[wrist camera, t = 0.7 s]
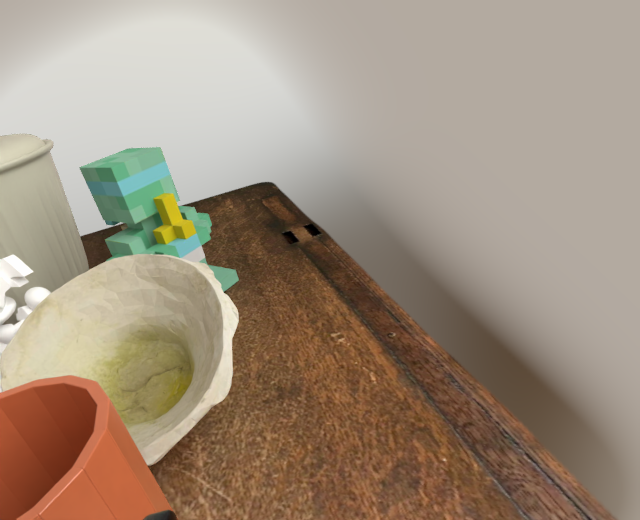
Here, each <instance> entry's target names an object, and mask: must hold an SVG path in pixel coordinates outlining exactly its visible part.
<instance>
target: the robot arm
mask: <svg viewBox="0 0 640 520" xmlns="http://www.w3.org/2000/svg"><path fill="white" fill-rule="evenodd" d="M143 520H177V517H176V515H175V513H174V512H173V511H171V510H164V511H161V512H157V513H153V514H149V515H147V516H146V517H145V518H144V519H143Z"/></svg>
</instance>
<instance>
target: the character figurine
mask: <svg viewBox="0 0 640 520" xmlns="http://www.w3.org/2000/svg"><path fill="white" fill-rule="evenodd" d="M32 272H34V271H32V270H31V269H30V268H29V267H28V266H27V265H26V264H25V263H23V262H22V261H21V260H20V259H19V258H18V257H16V256H15V255H11V256H8V257H5V258H3V259H0V359H1V354H2V352H3V351H4V349H5V348H6V346H7V345H8V344H9V342H10V341H11V339H12V338H13V337H14V335H15V334H16V332H17V331H18V329H19V328H20V326H21V325H22V323H23V321H24V320H25V319H26V318H27V316H28V315H29V314H30V313H32V312H33V310H34V309H35V308H36V306H37V305H38V304H39V303H40V302H41V301H43V300H44V299H45V298H46V297H47V296H48V295H49V294H51V292H50V291H49V290H47V289H45V288H43V287H33V288H30V289H29V290H28V291H27V292H26V293H25V296H24V299H25V302H26V304H27V305H26V306H23V307H20V308H18V313H17V314H16V317H17V321H20V322H18V323H17V324H15V325H13V324H6V325H2V324H3V323H4V322H5V321H6V320H8V319H9V318H10V317H11V315H12V314H13V313H14V311H15V309H16V302H15V300H14V299H13V298H10V297H6V296H5V292H6V291H7V290H8V289H10V287H21V286H22V285H24V284H26V283H28V282H29V281H28V280H27V279H26V278H25V276H27V275H29V274H30V273H32ZM0 381H1V372H0ZM1 392H2V389H1V383H0V393H1Z"/></svg>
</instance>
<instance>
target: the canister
mask: <svg viewBox="0 0 640 520" xmlns="http://www.w3.org/2000/svg"><path fill="white" fill-rule="evenodd" d="M52 148H53V142H52V141H51V140H48V139H45V140H41V139H40V138H38V137H37V136H34V135H31V134H12V135H5V136H0V259H3V258H5V257H8V256H11V255H15V256H16V257H18V258H19V259H20V260H21V261H22V262H23V263H25V264H26V265H27V266H28V267H29V268H30V269H31V270H32V271H34V272H32V273H30V274H29V275H27V276H25V278H26V279H27V280H28V281H29V282H28V283H26V284H24V285H22V286H21V287H10V289H8V290H7V291H6V292H5V296H6V297H10V298H13V299H14V300H15V302H16V309H15V311H14V313H13V314H12V315H11V317H10V318H9V319H8V320H6V321H5V322H4V323H3V324H2V325H6V324H13V325H15V324H17V323H18V322H20V321H17V317H16V314H17V313H18V308H20V307H23V306H26V305H27V304H26V302H25V299H24V296H25V293H26V292H27V291H28V290H29V289H30V288H33V287H43V288H45V289H47V290H49V291H50V292H51V293H52V292H54V291H55V290H57V289H58V288H60V287H62V286H63V285H64V284H66V283H67V282H69V281H70V280H72V279H73V278H75V277H77V276H79V275H81V274H83V273H85V272H87V271H89V267H88V261H87V257H86V254H85V251H84V247H83V244H82V241H81V238H80V235H79V232H78V229H77V226H76V223H75V220H74V217H73V214H72V211H71V209H70V206H69V203H68V200H67V197H66V195H65V192H64V189H63V186H62V183H61V180H60V177H59V175H58V172H57V169H56V167H55V164H54V162H53V159H52V156H51V153H50V150H51V149H52Z"/></svg>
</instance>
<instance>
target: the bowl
mask: <svg viewBox="0 0 640 520" xmlns="http://www.w3.org/2000/svg"><path fill="white" fill-rule="evenodd" d="M221 286H222V285H221V283H220V282H219V281H218V280H217V279H216V278H215V276H214V272H213V271H212V270H211V269H210V268H209V266H208V265H206V264H205V263H200V262H190V261H188V260H185V259H182V258H178V257H175V256H171V255H152V254H136V255H129V256H123V257H119V258H114V259H111V260H109V261H107V262H104V263H102V264H100V265H98V266H96V267H94V268H92V269H90V270H89V271H87V272H85V273H83V274H81V275H79V276H77V277H75V278H73V279H72V280H70V281H69V282H67V283H66V284H64V285H63V286H62V287H60V288H58V289H57V290H55V291H54V292H52V293H51V294H49V295H48V296H47V297H46V298H45V299H44V300H43V301H41V302H40V303H39V304H38V305H37V306H36V308H35V309H34V310H33V312H32V313H30V314H29V315H28V316H27V318H26V319H25V320H24V321H23V323H22V325H21V326H20V328H19V329H18V331H17V332H16V334H15V335H14V337H13V338H12V339H11V341H10V342H9V344H8V345H7V346H6V348H5V349H4V351H3V352H2V354H1V359H0V372H1V381H0V383H1V389H2V392H4V391H6V390H9V389H12V388H15V387H17V386H20V385H23V384H26V383H28V382H31V381H34V380H38V379H44V378H52V377H59V376H67V375H73V376H77V377H82V378H86V379H90V380H94V381H96V382H98V383H99V385H100V386H101V387H102V389H103V390H104V391H105V393H106V394H107V395H108V397H109V398H110V400H111V402H112V403H113V405H114V407H115V409H116V410H117V412H118V414H119V416H120V418H121V419H122V421H123V423H124V425H125V426H126V428H127V430H128V432H129V434H130V435H131V437H132V439H133V441H134V442H135V444H136V446H137V448H138V449H139V451H140V453H141V455H142V457H143V458H144V460H145V462H146V464H147V465H148V466H150V465H153V464H155V463H157V462H158V461H160V460H161V459H162V458H163V457H164V456H165V455H166V454H167V453H168V452H169V451H170V449H171V448H172V447H173V446H174V445H175V444H176V443H177V442H178V441H179V440H180V439H181V438H182V437H183V436H185V435H186V434H187V433H188V432H189V431H190V430H191V429H192V428H193V427H194V426H195V424H196V423H197V422H198V421H199V420H201V419H202V418H203V417H204V415H205V414H206V413H207V412H208V411H209V410H210V409H211V408H212V407H213V406H215V405H217V404H218V403H219V402H221V401H222V400H223V399H224V398H225V397H226V396H227V395H228V392H229V389H230V387H231V379H232V375H233V368H232V338H233V335H234V333H235V330H236V327H237V324H238V322H239V316H238V310H237V308H236V307H235V305H234V304H233V302H232V301H231V299H230V298H229V296H228V295H226V294H225V293H224V292H223V290H222V288H221Z"/></svg>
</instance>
